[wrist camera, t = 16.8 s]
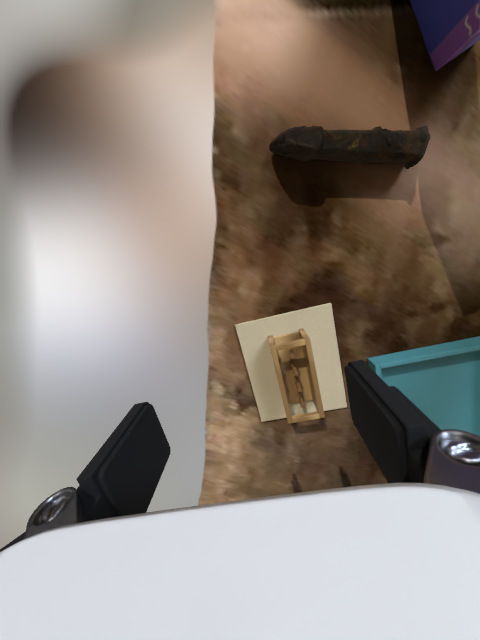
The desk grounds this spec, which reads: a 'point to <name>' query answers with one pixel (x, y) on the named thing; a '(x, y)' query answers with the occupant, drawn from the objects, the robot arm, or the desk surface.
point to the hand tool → (353, 145)
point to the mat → (262, 367)
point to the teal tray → (438, 381)
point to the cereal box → (447, 27)
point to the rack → (296, 373)
